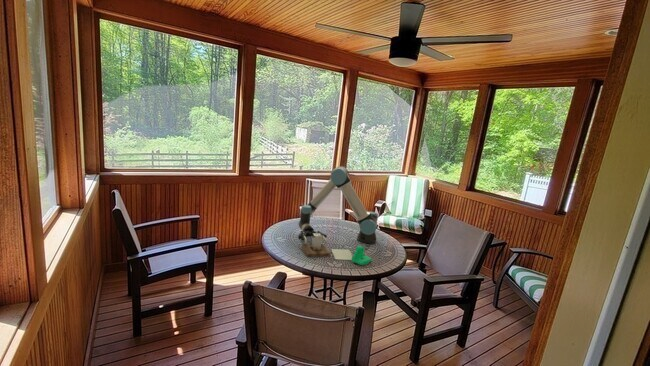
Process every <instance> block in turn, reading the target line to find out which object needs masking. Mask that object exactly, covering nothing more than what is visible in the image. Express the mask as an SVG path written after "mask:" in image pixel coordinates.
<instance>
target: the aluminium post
mask: <svg viewBox="0 0 650 366" xmlns="http://www.w3.org/2000/svg"><path fill="white" fill-rule="evenodd" d="M322 242H323V240H322V235H321V234H320V233H313V236H311V244H312V245H311V250H312V251H320V250H321V244H322Z"/></svg>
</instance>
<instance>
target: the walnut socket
mask: <svg viewBox="0 0 650 366" xmlns="http://www.w3.org/2000/svg"><path fill="white" fill-rule="evenodd" d="M311 245H312V243H301V249H302V251H303V252H304V254H305V256H306V257H307V258H310V257H311V258H315V257H318V258H319V257H331V254H332V252H330V249H328V248H327V246H325V243H321V250H320V251H312V250H311Z"/></svg>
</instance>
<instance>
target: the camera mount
mask: <svg viewBox="0 0 650 366" xmlns="http://www.w3.org/2000/svg"><path fill="white" fill-rule="evenodd" d="M352 256H353V257H352V260H350V261H351V262H353V263H356V264H358V265H359V266H361V265H362V266H366V265H367V264H369V263H370V262H372V258H371V257H370V256H367V255H366V254H365V247H364V246H362V245H357V247H356V249H355V251H354V253H353V254H352Z"/></svg>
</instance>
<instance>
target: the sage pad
mask: <svg viewBox="0 0 650 366" xmlns="http://www.w3.org/2000/svg"><path fill="white" fill-rule="evenodd" d="M331 254H332V255H333V258H334V260H335V261H351V260H352V257H353V254H352V252H351V251H350V249H339V248H338V249H337V248H334V249H333V248H331Z"/></svg>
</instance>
